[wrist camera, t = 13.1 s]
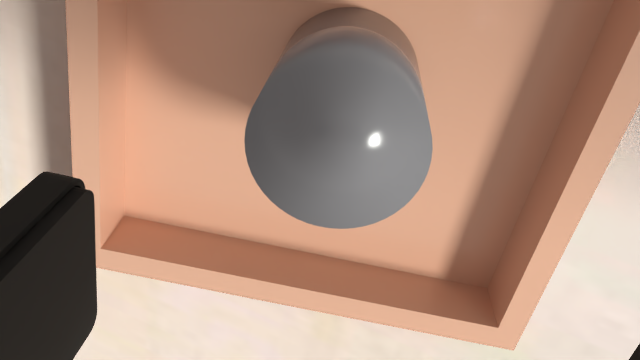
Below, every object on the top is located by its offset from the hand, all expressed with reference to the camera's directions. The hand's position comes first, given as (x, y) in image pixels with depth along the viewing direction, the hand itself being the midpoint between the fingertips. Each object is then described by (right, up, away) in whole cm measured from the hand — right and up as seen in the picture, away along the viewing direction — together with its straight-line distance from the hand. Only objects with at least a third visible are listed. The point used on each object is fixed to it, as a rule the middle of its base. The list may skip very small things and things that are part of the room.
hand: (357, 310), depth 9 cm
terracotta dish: (0, +6, +11) cm, 13 cm away
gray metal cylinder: (0, +6, +11) cm, 12 cm away
